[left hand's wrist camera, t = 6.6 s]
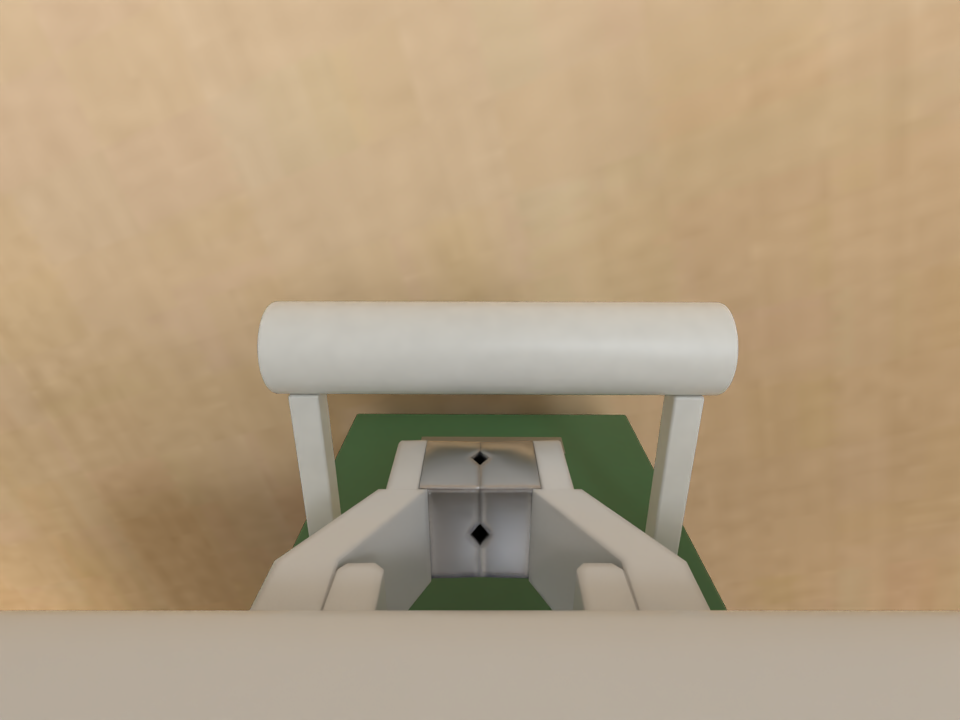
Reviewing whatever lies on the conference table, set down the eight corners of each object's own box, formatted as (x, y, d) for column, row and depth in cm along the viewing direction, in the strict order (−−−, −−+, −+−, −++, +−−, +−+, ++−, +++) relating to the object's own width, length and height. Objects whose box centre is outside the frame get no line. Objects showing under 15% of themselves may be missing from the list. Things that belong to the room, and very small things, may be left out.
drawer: (340, 242, 16) (166, 357, 7) (645, 243, 16) (837, 359, 7) (391, 766, 25) (340, 1095, 17) (585, 768, 25) (639, 1100, 16)
